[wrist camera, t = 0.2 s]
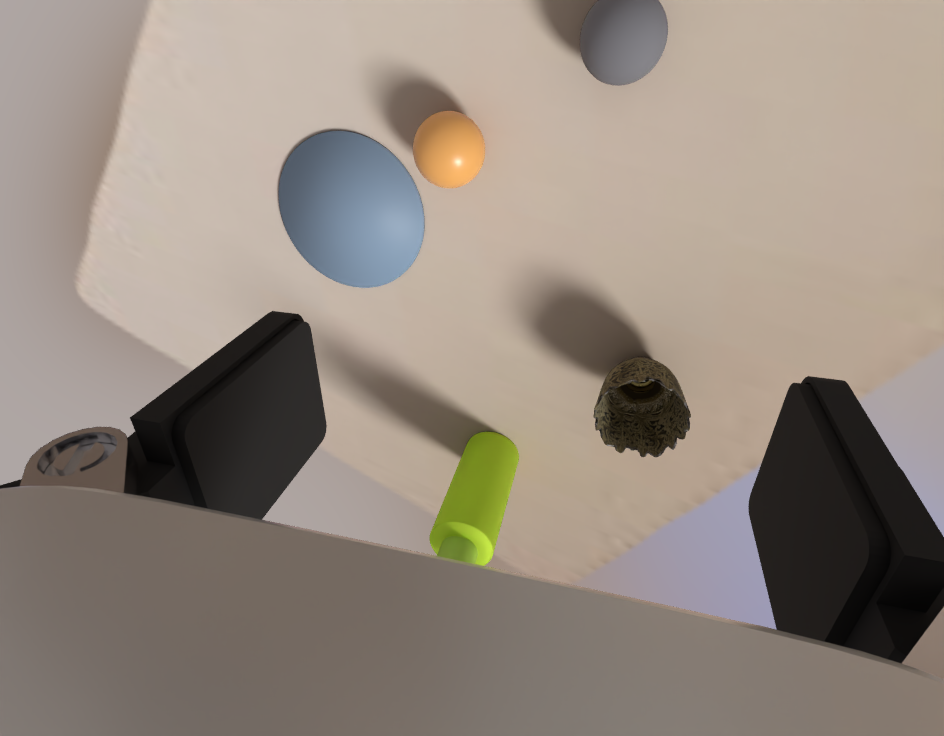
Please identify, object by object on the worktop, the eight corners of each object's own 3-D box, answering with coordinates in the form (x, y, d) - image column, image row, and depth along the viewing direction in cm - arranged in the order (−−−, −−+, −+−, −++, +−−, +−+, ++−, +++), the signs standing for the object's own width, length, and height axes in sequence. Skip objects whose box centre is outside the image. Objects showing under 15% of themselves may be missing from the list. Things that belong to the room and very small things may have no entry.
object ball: (413, 130, 45) (388, 141, 40) (469, 92, 42) (449, 99, 38) (449, 191, 46) (428, 208, 42) (504, 158, 44) (489, 172, 39)
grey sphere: (569, 22, 38) (560, 21, 34) (645, -31, 36) (647, -40, 31) (603, 98, 40) (599, 106, 36) (678, 52, 38) (684, 55, 33)
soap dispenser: (514, 424, 57) (465, 583, 41) (521, 475, 60) (479, 642, 44) (460, 422, 59) (392, 575, 42) (470, 472, 62) (410, 632, 46)
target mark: (250, 182, 51) (249, 183, 50) (362, 96, 44) (361, 96, 44) (340, 308, 55) (340, 309, 55) (453, 247, 49) (453, 247, 49)
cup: (590, 393, 53) (583, 445, 46) (609, 326, 49) (606, 372, 42) (668, 412, 52) (673, 468, 45) (695, 346, 48) (704, 396, 41)
